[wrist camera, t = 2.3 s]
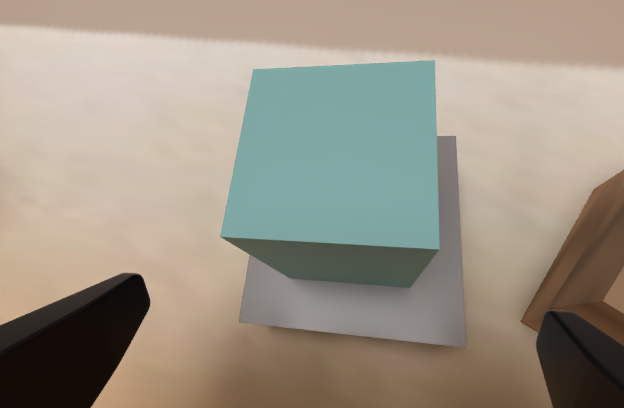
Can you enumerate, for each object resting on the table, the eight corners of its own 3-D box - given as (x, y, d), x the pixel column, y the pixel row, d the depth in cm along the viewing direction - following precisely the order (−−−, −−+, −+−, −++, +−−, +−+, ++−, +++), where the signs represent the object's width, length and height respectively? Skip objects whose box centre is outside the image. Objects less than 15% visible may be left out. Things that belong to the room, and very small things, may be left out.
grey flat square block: (445, 343, 16) (465, 347, 12) (267, 324, 18) (238, 322, 14) (440, 173, 19) (456, 136, 15) (288, 171, 21) (268, 137, 17)
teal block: (410, 288, 14) (439, 249, 7) (290, 278, 15) (220, 236, 8) (410, 174, 15) (434, 60, 9) (302, 173, 16) (253, 69, 10)
